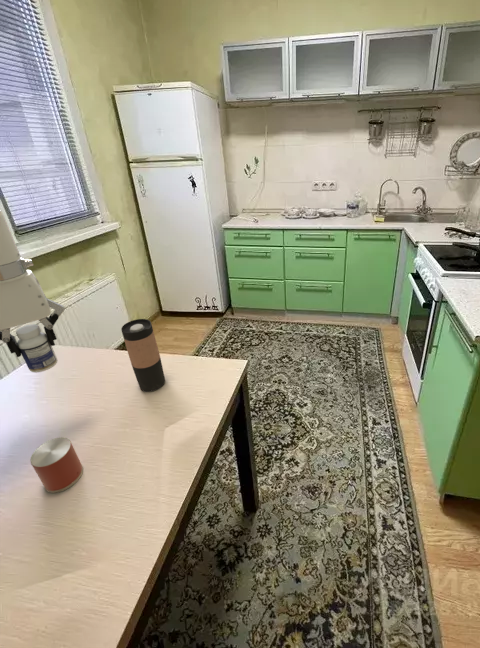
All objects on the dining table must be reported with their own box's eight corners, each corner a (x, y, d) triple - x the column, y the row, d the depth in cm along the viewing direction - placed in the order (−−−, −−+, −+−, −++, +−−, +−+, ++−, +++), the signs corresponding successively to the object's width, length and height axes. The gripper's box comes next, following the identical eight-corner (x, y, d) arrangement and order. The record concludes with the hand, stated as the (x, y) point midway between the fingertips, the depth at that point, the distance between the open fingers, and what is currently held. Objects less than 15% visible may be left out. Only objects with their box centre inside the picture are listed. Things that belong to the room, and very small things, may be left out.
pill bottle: (31, 363, 74) (13, 326, 69) (59, 355, 76) (43, 319, 72) (27, 376, 69) (9, 338, 65) (57, 368, 72) (41, 330, 67)
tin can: (39, 497, 65) (23, 471, 62) (51, 467, 72) (37, 441, 68) (78, 487, 67) (65, 461, 64) (86, 458, 73) (75, 433, 70)
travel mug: (134, 383, 96) (116, 325, 87) (160, 371, 100) (145, 315, 91) (144, 396, 91) (126, 336, 82) (170, 384, 95) (155, 325, 86)
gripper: (50, 256, 70) (77, 328, 78) (-58, 276, 60) (-15, 356, 68) (55, 265, 65) (83, 341, 73) (-63, 289, 55) (-15, 373, 63)
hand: (35, 347), depth 70 cm, fingers closed on pill bottle, 5 cm apart
